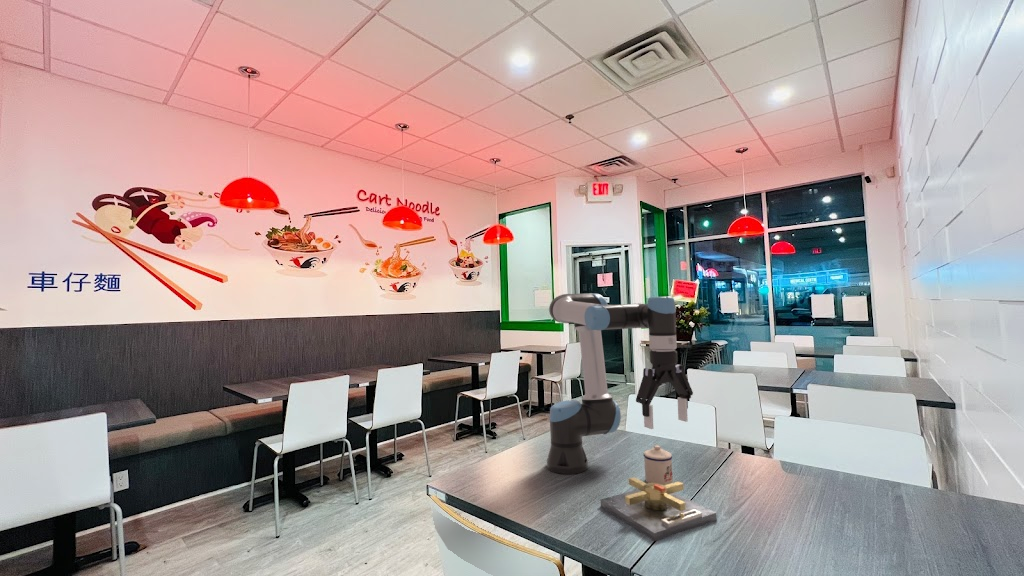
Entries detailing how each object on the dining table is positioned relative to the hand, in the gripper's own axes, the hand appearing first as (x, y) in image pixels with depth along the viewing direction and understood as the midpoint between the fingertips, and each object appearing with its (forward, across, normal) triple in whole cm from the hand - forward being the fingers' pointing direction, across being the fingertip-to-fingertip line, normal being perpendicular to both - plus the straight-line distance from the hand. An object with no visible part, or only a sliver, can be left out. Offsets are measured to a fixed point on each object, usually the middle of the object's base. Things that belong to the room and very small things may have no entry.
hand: (666, 424), depth 124 cm
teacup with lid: (+25, +14, +18) cm, 34 cm away
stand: (+24, -4, +1) cm, 25 cm away
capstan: (+22, -4, +1) cm, 23 cm away
